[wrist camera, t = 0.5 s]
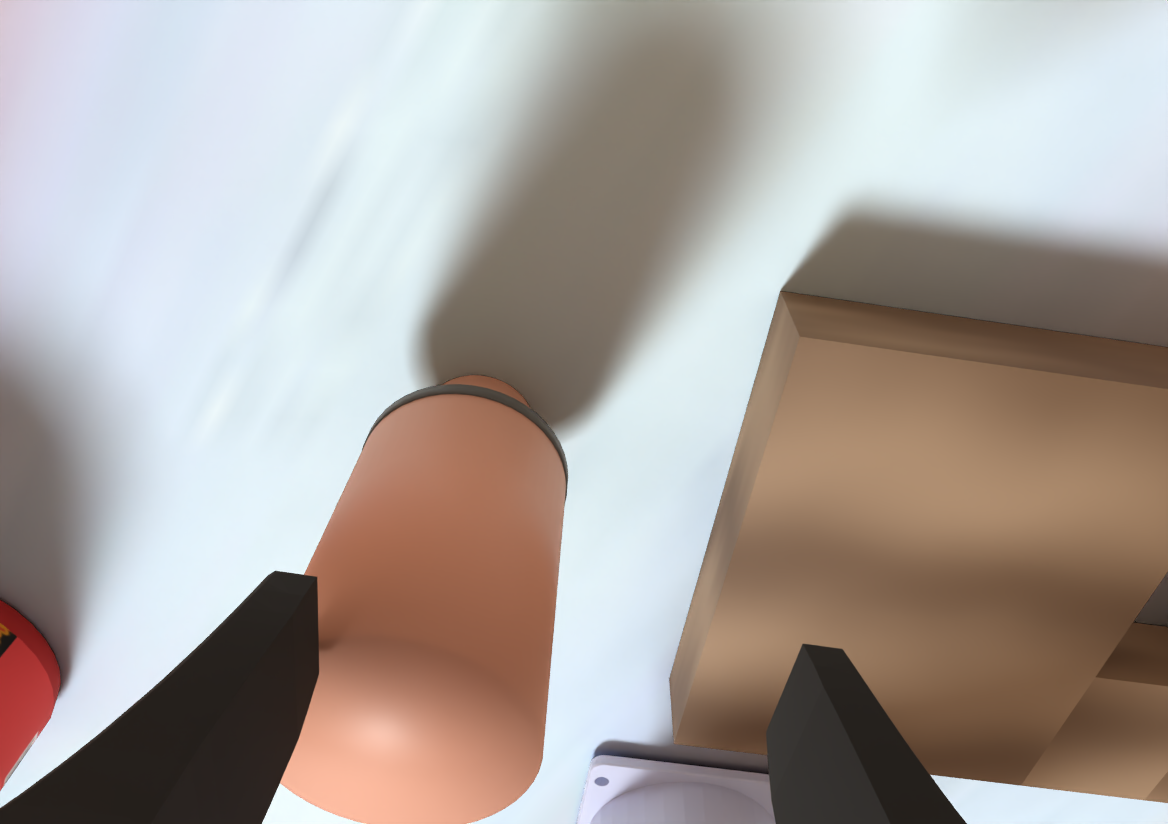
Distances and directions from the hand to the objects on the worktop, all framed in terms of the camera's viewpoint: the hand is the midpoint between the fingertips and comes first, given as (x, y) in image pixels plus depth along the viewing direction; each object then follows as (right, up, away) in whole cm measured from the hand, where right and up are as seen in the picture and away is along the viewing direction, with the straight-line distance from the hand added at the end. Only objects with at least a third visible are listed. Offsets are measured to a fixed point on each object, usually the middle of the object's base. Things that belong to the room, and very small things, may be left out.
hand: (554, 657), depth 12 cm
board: (+14, -1, +12) cm, 19 cm away
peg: (-2, +3, +10) cm, 11 cm away
